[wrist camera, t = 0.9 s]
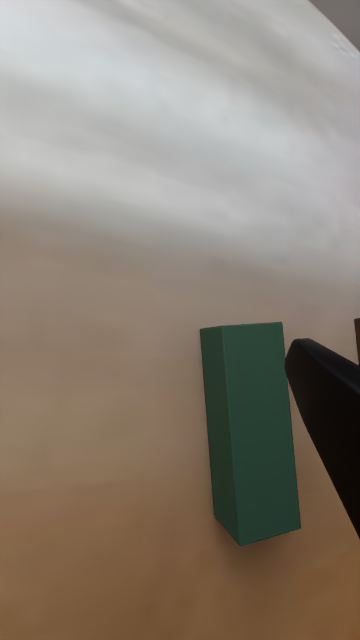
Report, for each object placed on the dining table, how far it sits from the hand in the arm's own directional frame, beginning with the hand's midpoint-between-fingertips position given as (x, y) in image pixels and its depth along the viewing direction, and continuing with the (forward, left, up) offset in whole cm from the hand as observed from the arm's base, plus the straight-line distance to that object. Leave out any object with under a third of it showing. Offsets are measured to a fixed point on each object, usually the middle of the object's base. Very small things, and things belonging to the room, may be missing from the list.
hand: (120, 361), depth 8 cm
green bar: (-5, -9, -12) cm, 16 cm away
